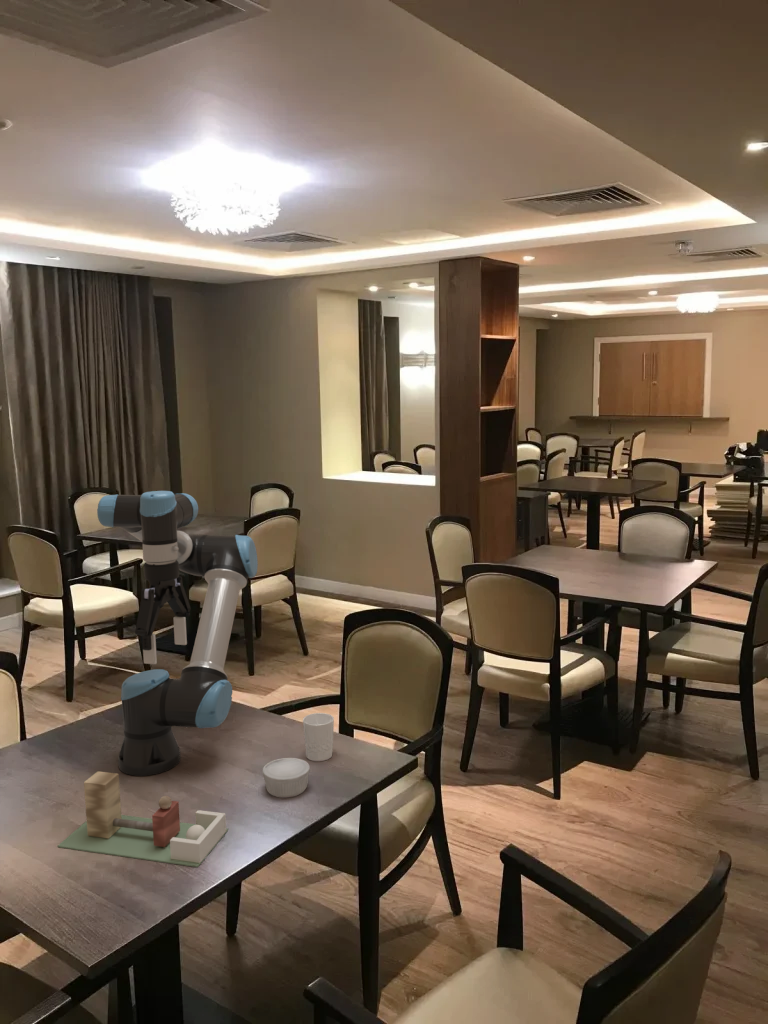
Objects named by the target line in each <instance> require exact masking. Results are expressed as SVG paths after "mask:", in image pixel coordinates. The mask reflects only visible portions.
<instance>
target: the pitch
mask: <svg viewBox="0 0 768 1024" xmlns="http://www.w3.org/2000/svg"><path fill="white" fill-rule="evenodd" d="M121 818H122V819H126V820H133V821H141V822H149V823H153V822H152V818H150V817H141V816H133V815H128V814H121ZM193 825H196V823H188V822H180V831H179V832H178V833H177V835H176V836H175V837H176V838H183V839H186V833H187V831H188V829H189V828H190V827H191V826H193ZM228 831H229V828H227V827H226V832H225V833H224V834H223V836H222V837H221V838H220V839H219V841H218V842H217V843H216V844H215V845H214V847H213V848H212V849H211V850H210V852H209V853H208V854H207V855H206V856H205V858H204V859H203V860H202V861H201V863H196V862H189V861H182V860H175V859H171V851H170V842H169V843H168V844H167V845H166V846H165V847H160V846H154V839H153V831H146V830H139V829H131V828H124V827H121V828H119V829H118V830H117V831H116V832H115V833H114V834H113V835H112V836H111V837H110V838H109V839H108V838H101V837H94V836H88V833H87V820H86V821H85V822H83V823H82V824H81V825H80V826H79V827H78V828H76V829H75V830H74V831H73V832H71V834H69V835H68V836H67V837H66V838H64V839H63V841H62V842H60V843H59V844H58V845H57V848H60V849H61V848H62V849H69V850H74V851H83V852H90V853H96V854H102V855H103V854H104V855H110V856H116V857H123V858H124V857H125V858H131V859H139V860H144V861H151V862H159V863H164V864H165V863H166V864H172V865H173V864H174V865H177V866H178V865H179V866H186V867H193V868H199V866H200V865H201V864H202V863H203V862H204V860H205V859H206V858H207V857H208V855H209V854H210V853H211V852H212V851H213V849H214V848H215V847H216V846H217V845H218V844H219V842H220V841H221V839H222V838H223V837H224V836H225V835H226V834H227V832H228Z"/></svg>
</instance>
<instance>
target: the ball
mask: <svg viewBox="0 0 768 1024" xmlns="http://www.w3.org/2000/svg"><path fill="white" fill-rule="evenodd" d="M204 831H205V829H204V828H203V827H202V826H200V825H193V826H191V827H190V828H189V829H188V831H187V833H186V839H190V840H197V839H198V838H199V837H200V836H201V835H202V833H203V832H204Z"/></svg>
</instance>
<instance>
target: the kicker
mask: <svg viewBox="0 0 768 1024" xmlns="http://www.w3.org/2000/svg"><path fill="white" fill-rule="evenodd" d="M119 774H120V773H115V772H107V771H96V772H95V773H94V774H92V775H91V776H90V777H88V778H87V779H86V780H85V781H84V782H83V791H84V802H85V818H86V821H87V833H88V836H94V837H101V838H108V839H109V838H110V837H111V836H112V835H113V834H114V833H115V832H116V831H117V830H118V829H119V828H121V827H124V828H131V829H139V830H146V831H153V839H154V846H160V847H165V846H166V845H167V844H168V843H169V842H170V840H171V839H172V838H173V837H175V836H176V835H177V833H178V832H179V831H180V803H179V801H178V800H172V798H171V797H170V796H168V795H163V796H161V797H160V799H159V801H158V807H159V808H158V809H157V810H156V811H155V812H154V813H153V814H151V815H152V816H151V819H152V822H153V823H149V822H141V821H133V820H126V819H122V818H121V815H122V807H121V806H122V805H121V803H122V802H121V790H120V778H119V777H120V775H119Z"/></svg>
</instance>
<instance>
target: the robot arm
mask: <svg viewBox="0 0 768 1024" xmlns="http://www.w3.org/2000/svg"><path fill="white" fill-rule="evenodd" d="M198 504H199V503H198V502H197V500H196V499H195V498H194V497H193V496H192V495H190V494H188V493H185V492H184V493H183V492H182V493H174V492H173V491H170V490H157V491H156V490H152V491H151V490H150V491H146V492H143V493H142V494H109V495H107V494H106V495H104V496H102V497H101V498H100V500H99V501H98V503H97V513H96V515H97V518H98V519H97V520H98V522H99V524H100V525H101V526H103V527H106V528H108V527H109V528H121V530H123V531H125V532H126V533H128V534H129V535H131V536H133V537H134V538H135V539H137V540H139V541H140V542H141V543H142V544H141V545H142V560H143V561H144V563H143V576H144V580H145V581H148V582H149V588H141V591H140V592H141V593H140V594H141V595H140V596H141V598H140V604H139V609H138V615H137V619H136V620H137V621H136V626H135V631H134V633H135V634H134V635H137V636H141V638H142V639H141V641H142V655H143V664H146V665H147V664H148V665H157V663H158V660H157V642H156V641H157V640H156V634H155V633H154V631H155V627H156V624H157V621H158V618H159V615H160V611H161V609H162V608H164V605H165V604H166V603H167V604H168V605H169V607H170V608H171V610H172V612H173V614H174V615H175V616H174V617H173V634H174V635H173V636H174V645H179V646H180V645H181V646H186V645H187V644H188V640H187V637H188V636H187V620H186V619H187V618H186V617H190V616H191V609H192V608H191V605H190V602H189V599H188V597H187V594H186V590H185V587H184V585H183V584H184V583H183V577H182V576H181V575H180V572H183V573H185V574H189V575H193V576H196V577H204V579H205V581H206V582H207V584H208V585H207V588H206V593H205V597H204V601H203V605H202V610H201V614H200V618H199V622H198V626H197V630H196V631H197V633H196V636H195V640H194V645H193V649H192V653H191V657H190V661H189V664H188V665H186V666H185V667H183V668H182V669H181V673H180V677H179V678H177V677H175V678H171V677H170V676H171V675H170V674H169V672H168V670H165V669H161V668H160V669H159V668H158V669H157V668H156V669H150V670H144V671H141V672H137V673H134V674H132V675H131V676H128V677H127V678H126V679H124V680H123V682H122V684H121V695H120V700H121V710H122V724H123V739H122V743H121V747H120V750H119V753H118V758H117V760H118V761H117V762H118V763H117V764H118V768H119V771H121V772H122V773H124V774H126V775H129V776H136V777H137V776H139V777H143V776H153V775H156V774H161V773H164V772H166V771H169V770H171V769H172V768H173V769H174V768H175V767H176V766H177V765H178V764H179V763H180V761H181V749H180V746H179V745H178V742H177V739H176V737H175V734H174V732H173V729H172V727H180V728H181V727H183V728H199V729H205V728H206V729H207V728H216V727H219V726H220V725H222V723H223V722H224V721H226V718H227V717H228V714H229V712H230V709H231V707H232V706H231V705H232V702H233V701H232V700H233V686H232V683H231V682H230V681H229V680H228V679H229V676H228V674H227V673H226V672H225V670H224V669H225V664H226V659H227V655H228V650H229V643H230V639H231V634H232V629H233V624H234V620H235V615H236V609H237V606H238V600H239V595H240V592H241V591H240V590H242V589H244V588H245V587H246V586H247V584H248V579H253V578H255V577H256V575H257V573H258V565H259V563H258V562H259V561H258V553H257V548H256V544H255V541H254V539H253V538H252V537H251V536H249V535H242V534H241V535H239V534H234V535H232V534H227V535H226V534H223V535H222V534H221V535H220V534H191V533H190V534H188V533H186V532H185V531H183V530H178V529H181V528H182V527H186V526H188V525H190V523H192V522H193V521H195V519H196V518H197V516H198V514H199V506H198Z"/></svg>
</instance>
